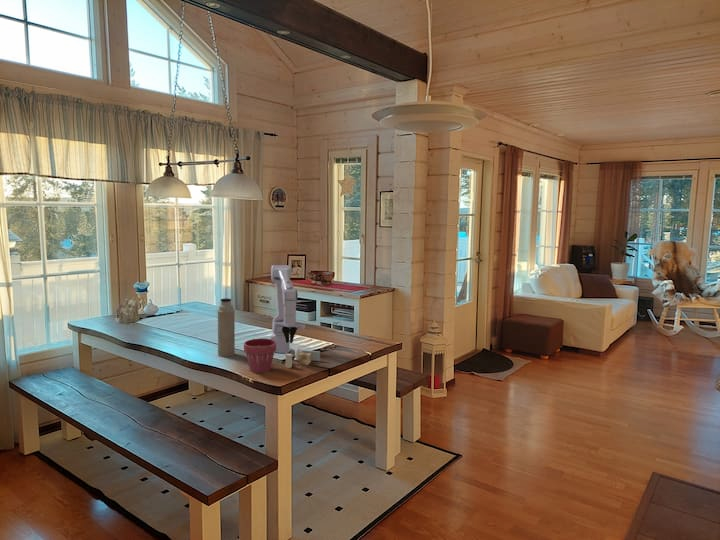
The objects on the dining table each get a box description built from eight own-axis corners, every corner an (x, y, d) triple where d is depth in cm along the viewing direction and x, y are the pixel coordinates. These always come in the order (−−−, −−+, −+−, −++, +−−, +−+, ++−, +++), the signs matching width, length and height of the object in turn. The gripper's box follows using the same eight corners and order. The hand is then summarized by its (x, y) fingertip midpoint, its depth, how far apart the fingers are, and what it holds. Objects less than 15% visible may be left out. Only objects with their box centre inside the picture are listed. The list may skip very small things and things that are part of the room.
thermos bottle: (234, 351, 250) (234, 297, 247) (235, 356, 242) (234, 300, 239) (217, 352, 248) (217, 297, 244) (218, 357, 240) (217, 300, 237)
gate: (301, 359, 240) (301, 350, 239) (302, 358, 241) (302, 349, 241) (319, 361, 238) (319, 352, 238) (319, 360, 239) (320, 351, 239)
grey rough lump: (124, 316, 322) (123, 293, 319) (145, 319, 317) (144, 296, 314) (105, 322, 307) (104, 299, 304) (126, 326, 302) (125, 302, 299)
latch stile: (283, 367, 228) (283, 354, 227) (288, 363, 235) (288, 350, 234) (290, 368, 227) (290, 355, 227) (295, 363, 234) (295, 351, 233)
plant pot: (238, 373, 218) (238, 345, 217) (251, 363, 232) (251, 337, 230) (269, 376, 215) (269, 347, 214) (280, 366, 229) (280, 339, 227)
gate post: (292, 359, 240) (293, 349, 239) (295, 357, 243) (295, 347, 242) (300, 360, 239) (300, 350, 238) (302, 358, 242) (302, 348, 242)
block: (297, 364, 233) (297, 355, 233) (300, 361, 238) (301, 352, 237) (307, 365, 232) (307, 356, 232) (310, 362, 237) (311, 353, 236)
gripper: (272, 315, 231) (271, 343, 233) (301, 317, 228) (301, 345, 230) (277, 312, 238) (277, 339, 240) (306, 314, 235) (306, 342, 237)
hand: (289, 342), depth 235 cm, fingers closed
